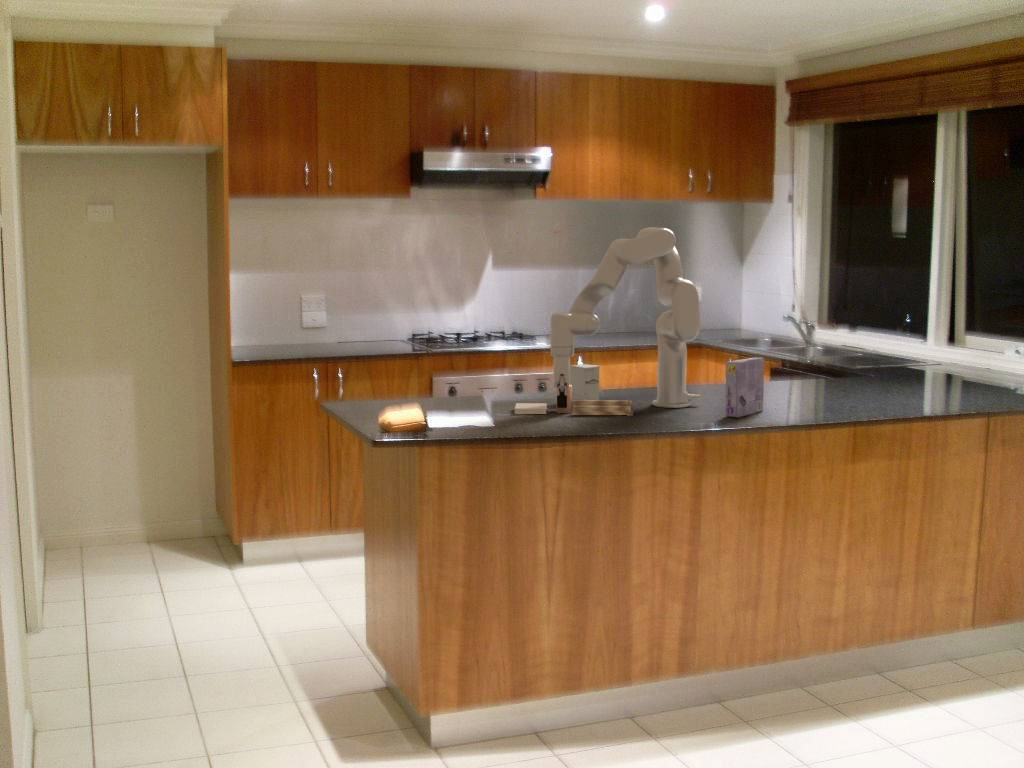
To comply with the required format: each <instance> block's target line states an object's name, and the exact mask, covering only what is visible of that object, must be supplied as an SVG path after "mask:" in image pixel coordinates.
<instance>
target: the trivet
mask: <svg viewBox="0 0 1024 768" xmlns="http://www.w3.org/2000/svg"><path fill="white" fill-rule="evenodd" d="M547 406H548V404H547V403H546V402H545V403H543V402H542V403H541V402H540V403H537V402H536V403H535V402H534V403H533V402H528V403H527V402H526V403H525V402H524V403H523V402H522V403H521V402H518V403H517V402H516V403H515V406H514V415H515V414H546V415H547V412H548V411H547V410H548V407H547ZM546 411H547V412H546Z"/></svg>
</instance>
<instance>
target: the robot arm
mask: <svg viewBox="0 0 1024 768" xmlns="http://www.w3.org/2000/svg"><path fill="white" fill-rule="evenodd" d="M676 238H677V237H676V235H675V234H674V232H673V231H672V230H670V229H668V228H667V227H655V226H654V227H652V226H651V227H645V228H642V229H640V230H639V232H637V234H636V237H634V238H618V239H615V240H613V241H612V242H611V244H610V245H609V246H608V249H607V250H606V251H605V254H604V256H603V258H602V260H601V262H600V264H599V266H598V268H597V270H596V272H595V274H594V275H593V277H592V279H591V280H590V281H589V282H588V283H587V284H586V285H585V287H583V288H582V290H581V291H580V292H579V294H578V295H577V296H576V297H575V299H574V301H573V302H572V305H571V307H570V309H569V311H568V312H554V313H552V314H551V316H550V357H553V361H552V362H553V366H552V367H553V371H552V372H553V373H552V374H553V375H552V378H553V379H552V383H553V388H556V387H557V385H558V395H557V408H567V395H566V386H567V387H568V385H569V382H570V366H571V357H574V356H575V335H576V336H577V335H578V336H588V337H589V336H593V335H595V334H596V333H597V332H598V331H599V330H600V328H601V320H600V318H599V317H598V316H597V315H596V314H595V313H593V312H594V310H595V308H596V307H597V305H599V303H601V302H602V301H603V300H604V299H605V298H607V297H609V296H611V295H613V293H615V292H616V291H617V290H618V288H619V286H620V285H621V282H622V280H623V278H624V276H625V274H626V272H627V271H628V268H629V267H630V266H632V267H634V266H639V265H642V264H645V263H648V262H651V261H653V263H654V268H655V274H656V275H655V277H656V290H657V298H658V301H659V303H660V304H661V305H663V306H665V307H670V308H671V309H670V310H666V311H664V312H662V313H661V314H660V315H659V316H658V318H657V319H656V322H655V323H656V325H655V330H656V331H655V333H656V338H657V387H656V388H657V390H656V393H657V394H656V395H657V396H656V399H653V400H652V403H651V404H652V405H653V406H654V407H659V408H667V409H668V408H669V409H670V408H671V409H672V408H673V409H674V408H675V409H676V408H677V409H678V408H687V407H690V406H691V401H701V394H695V393H692V394H691V393H688V391H687V363H688V362H687V359H688V349H687V343H689V342H692V341H694V340H695V339H697V337H698V335H699V333H700V330H701V311H700V301H699V300H700V297H699V293H698V292H699V291H698V289H697V287H696V286H695V284H694V283H693V282H692V281H691V280H688V279H684V275H683V267H682V261H681V257H680V254H679V251H678V249H677V248H676V242H677V239H676ZM566 383H567V385H566ZM559 385H560V386H559ZM564 385H565V386H564Z"/></svg>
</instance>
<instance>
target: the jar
mask: <svg viewBox="0 0 1024 768" xmlns="http://www.w3.org/2000/svg"><path fill="white" fill-rule="evenodd" d="M566 385H567V383H566ZM559 386H560V385H559ZM564 386H565V385H564ZM555 392H556V398H555V400H556V403H555V405H556V406H555V407H556V410H555V411H556V412H558V413H557V414H560V413H569V414H571V413H570V412H572V413H573V402H572V384H571V382H570V381H569V385H568V387H567V386H566V395H567V408H557V395H558V385H557V386H556V391H555ZM556 412H555V413H556Z"/></svg>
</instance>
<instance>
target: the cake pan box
mask: <svg viewBox="0 0 1024 768" xmlns="http://www.w3.org/2000/svg"><path fill="white" fill-rule="evenodd" d="M764 377H765V357H749V358H743V359H736V360H731V361H725V417H730V418H736V419H738V418H741V417H745V416H750V415H754V414H756V413H760V412H763V411H764V396H765V395H764V392H765V391H764V390H765V389H764V388H765V387H764V386H765V385H764V384H765V383H764V381H765V378H764Z"/></svg>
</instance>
